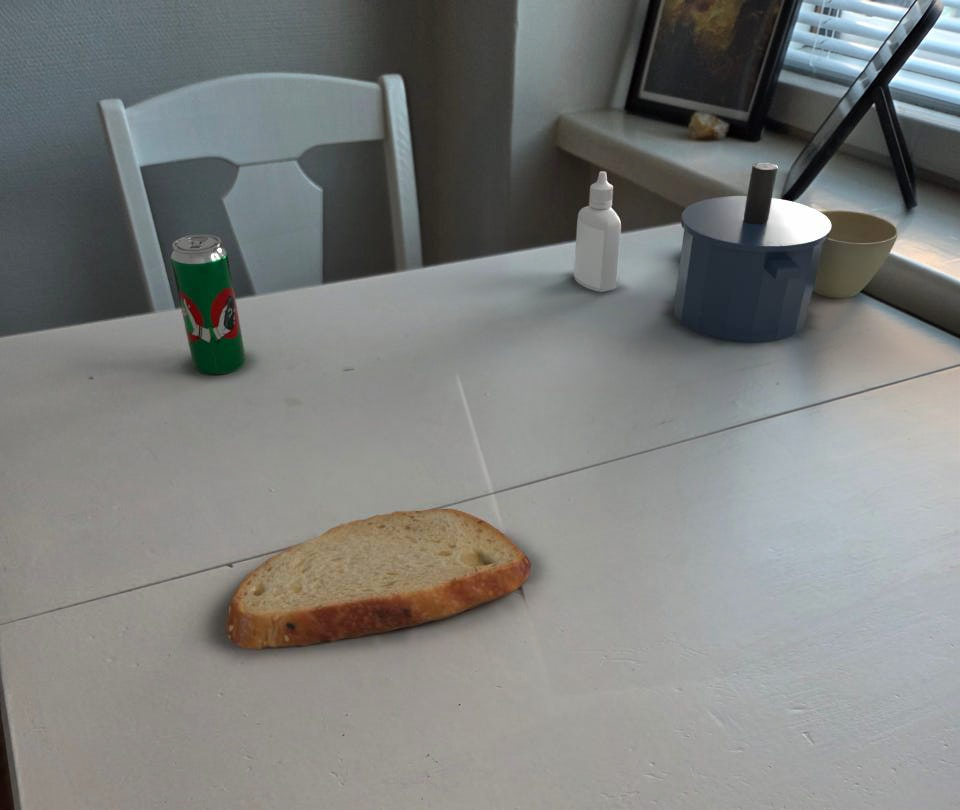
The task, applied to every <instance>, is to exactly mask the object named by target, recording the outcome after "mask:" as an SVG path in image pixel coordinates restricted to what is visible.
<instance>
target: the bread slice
mask: <svg viewBox="0 0 960 810" xmlns="http://www.w3.org/2000/svg"><path fill="white" fill-rule="evenodd" d="M531 568H532V563H531V560H530V559H529V557H528V556H527V554H525V553H524V551H522V550H521V549H520V548H519V547H518V546H517V545H516V544H515V543H514V542H513V540H511V539H510V538H509V537H508V536H507V535H505V534H504V533H503V532H502V531H500V530H499V529H498V528H496V527H494V526H493V525H492V524H490V523H488V522H487V521H485V520H483V519H481V518H478V517H477V516H474V515H472V514H469V513H468V512H464V511H462V510H458V509H454V508H435V509H426V510H425V509H424V510H409V511H404V510H403V511H400V510H399V511H398V510H397V511H396V510H395V511H393V512H389V513H385V514H376V515H374V516H371V517H368V518H365V519H357V520H352V521H349V522H346V523H341V524H339V525H336V526H334V527H332V528H330V529H328V530H327V531H325V532H324V533H323V534H321V535H320V536H318V537H315V538H311V539H310V540H307V541H305V542H302V543H300V544H297V545H293V546H290V547H289V548H287V549H285V550H283V551H281V552H280V553H277V554H276V555H273V556H272V557H269V558H268V559H267V560H266V561H265V562H263V563H262V564H261V565H260V566H258V567H257V568H256V569H254V570H253V571H252V572H250V573H248V574H247V575H246V576H245V577H244V578H243V579H242V581H241V582H240V584H239V585H238V587H237V588H236V590H235V591H234V594H233V595H232V598H231V599H230V602H229V605H228V611H227V617H226V625H225V630H224V631H225V632H226V635H227V637H228V639H229V640H230V641H231V642H232V643H233V644H235V645H236V646H237V647H239V648H241V649H245V650H256V651H257V650H263V649H268V648H275V649H279V648H289V647H299V648H300V647H301V648H302V647H308V646H311V645H316V644H328V643H329V644H330V643H333V642H336V641H340V640H343V639H357V638H360V637H363V636H367V635H374V634H383V633H388V632H391V631H396V630H399V629H404V628H410V627H416V626H420V625H423V624H425V623H428V622H434V621H435V622H436V621H442V620H445V619H447V618H450V617H453V616H455V615H458V614H460V613H463V612H467V611H470V610H473V609H475V608H477V607H479V606H481V605H483V604H486V603H489V602H492V601H496V600H498V599H501V598H503V597H506V596H508V595H510V594H513V593H514V592H515V591H517V590H518V589H520V588H521V587H522V586H523V584H525V582H527V580H528V578H529V575H530V570H531Z"/></svg>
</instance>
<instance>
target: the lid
mask: <svg viewBox="0 0 960 810" xmlns="http://www.w3.org/2000/svg"><path fill="white" fill-rule="evenodd" d="M778 169H779V167H778V166H777V164H774V163H771V162H756V163H753V164H752V166H751V172H750V177H749V184H748V189H747V195H728V196H719V197H712V198H707V199H703V200H699V201H697V202H694V203H692V204H690V205H688V206H687V207H685V209H683V211H682V212H681V218H680V224H681V227H682V228H683V231H684V230H685V231H686V232H687V233H689V234H690V235H692V236H693V237H695V238H697V239H699V240H701V241H704V242H706V243H709V244H712V245H716V246H720V247H724V248H728V249H734V250H740V251H749V252H764V253H775V252H790V251H798V250H803V249H807V248H811V247H814V246H816V245H819V244H821V243H822V242H824V241H825V240H826V239H827V238H828V237H829V235H830V231H831V223H830V221H829V220H828V218H827V217H826V216H824V215H823V214H822V213H820V212H819V211H818V210H816V209H814V208H812V207H809V206H807V205H804V204H802V203H798V202H794V201H790V200H786V199H781V198H775V197H773V195H774V191H775V186H776V180H777V175H778Z"/></svg>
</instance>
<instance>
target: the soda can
mask: <svg viewBox="0 0 960 810" xmlns="http://www.w3.org/2000/svg"><path fill="white" fill-rule="evenodd" d="M170 262H171V267H172V272H173V277H174V281H175V286H176V290H177V291H176V292H177V295H178V300H179V304H180V305H179V306H180V309H181V314H182V320H183V325H184V329H185V334H186V338H187V343H188V347H189V348H188V349H189V353H190V358H191V362H192V366H193V368H195V370H197V371H198V372H199V373H201V374H204V375H209V376H221V375H222V376H223V375H227V374H231V373H234V372H237V371H238V370H240V369H241V368H242V367H243V366H244V364H245V363H246V359H247V357H246V353H245V346H244V341H243V335H242V329H241V323H240V316H239V312H238V306H237V305H238V304H237V299H236V295H235V288H234V282H233V276H232V272H231V271H232V269H231V266H230V265H231V264H230V259H229V252H228V250H227V249H226V248H225V247H224V246H223V244H222V240H221V238H220V237H218V236H215V235H211V234H191V235H190V234H189V235H187V236H182V237H180V238H178V239H176V240H174V241H173V242H172V252H171V255H170Z"/></svg>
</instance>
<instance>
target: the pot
mask: <svg viewBox="0 0 960 810" xmlns="http://www.w3.org/2000/svg"><path fill="white" fill-rule="evenodd" d="M823 243H824V242H822V243H821V244H819V245H816V246H814V247H811V248H807V249H803V250H798V251H790V252H775V253H764V252H749V251H740V250H734V249H728V248H724V247H720V246H716V245H712V244H709V243H706V242H704V241H701V240H699V239H697V238H695V237H693V236H692V235H690V234H689V233H687V232H686V231H685V230H684V229H683V236H682V243H681V251H680V257H679V266H678V274H677V281H676V287H675V288H676V289H675V296H674V303H673V310H672V311H673V314H674V317H675V319H676V320H677V322H679V324H681V325H682V326H683V327H685V328H686V329H687V330H689V331H692V332H693V333H696V334H698V335H701V336H704V337H707V338H710V339H713V340H714V339H715V340H717V341H718V340H719V341H723V342H724V341H725V342H731V343H732V342H733V343H740V344H760V343H771V342H776V341H781V340H785V339H789V338H791V337H793V336H794V335H796V334H797V333H799V332H800V331H801V330H802V329H803V328H804V326H805V325H806V321H807V318H808V314H809V309H810V304H811V300H812V296H813V293H814V292H813V287H814V283H815V278H816V274H817V269H818V265H819V261H820V256H821V252H822V247H823Z"/></svg>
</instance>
